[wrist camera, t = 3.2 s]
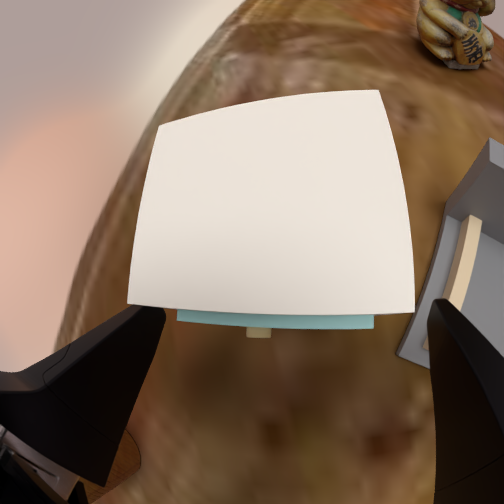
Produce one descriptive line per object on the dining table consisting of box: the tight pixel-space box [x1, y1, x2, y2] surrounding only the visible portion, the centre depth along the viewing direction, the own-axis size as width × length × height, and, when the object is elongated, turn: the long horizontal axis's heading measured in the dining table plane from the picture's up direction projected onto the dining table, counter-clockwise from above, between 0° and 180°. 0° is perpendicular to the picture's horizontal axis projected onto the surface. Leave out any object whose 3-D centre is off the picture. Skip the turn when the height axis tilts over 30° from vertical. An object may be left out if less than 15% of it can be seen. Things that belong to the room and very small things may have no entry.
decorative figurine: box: [417, 0, 495, 69], centre depth 10 cm, size 10×8×15 cm
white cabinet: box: [127, 90, 415, 338], centre depth 11 cm, size 6×6×13 cm
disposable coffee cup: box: [79, 430, 141, 504], centre depth 14 cm, size 10×10×12 cm
